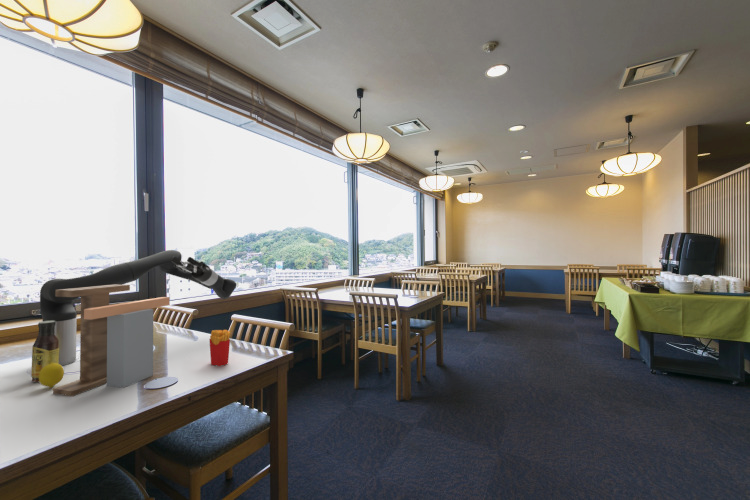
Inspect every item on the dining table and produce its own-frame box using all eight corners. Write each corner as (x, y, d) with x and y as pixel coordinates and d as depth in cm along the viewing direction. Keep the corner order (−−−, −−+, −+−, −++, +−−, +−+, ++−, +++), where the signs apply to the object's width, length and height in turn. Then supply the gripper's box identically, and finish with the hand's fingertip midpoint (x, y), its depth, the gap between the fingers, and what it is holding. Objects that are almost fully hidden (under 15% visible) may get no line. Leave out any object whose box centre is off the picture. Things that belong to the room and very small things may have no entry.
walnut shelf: (53, 393, 92) (54, 289, 92) (112, 372, 108) (113, 284, 109) (72, 396, 90) (73, 290, 90) (130, 374, 107) (130, 284, 107)
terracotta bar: (83, 319, 90) (84, 309, 90) (163, 304, 115) (163, 296, 115) (91, 319, 89) (91, 309, 89) (169, 304, 114) (169, 297, 114)
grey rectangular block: (106, 385, 97) (107, 313, 98) (137, 373, 107) (137, 308, 107) (123, 387, 96) (123, 314, 96) (152, 375, 106) (153, 309, 106)
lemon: (46, 392, 93) (47, 366, 93) (33, 390, 94) (34, 365, 94) (68, 384, 98) (68, 360, 98) (55, 382, 99) (55, 358, 100)
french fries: (206, 363, 116) (207, 330, 117) (216, 360, 120) (216, 328, 121) (224, 367, 113) (224, 333, 113) (233, 363, 117) (233, 330, 117)
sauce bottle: (27, 381, 101) (28, 322, 101) (52, 374, 106) (53, 318, 107) (37, 384, 98) (37, 324, 98) (62, 377, 104) (63, 320, 104)
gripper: (214, 282, 139) (190, 266, 126) (189, 282, 143) (162, 266, 129) (220, 268, 143) (197, 251, 130) (196, 268, 146) (170, 251, 133)
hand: (180, 258), depth 129 cm, fingers open, 8 cm apart
